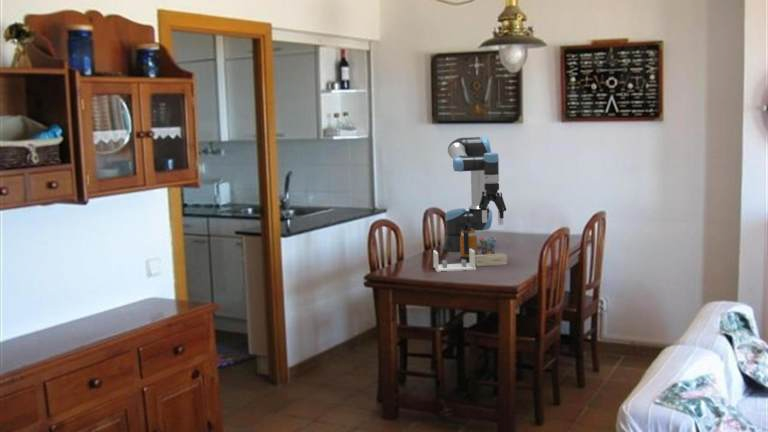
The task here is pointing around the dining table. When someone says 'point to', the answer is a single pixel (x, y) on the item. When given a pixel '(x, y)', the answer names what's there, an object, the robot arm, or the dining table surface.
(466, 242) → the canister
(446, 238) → the robot arm
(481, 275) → the dining table surface
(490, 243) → the mug
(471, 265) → the cradle
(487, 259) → the cream long box
